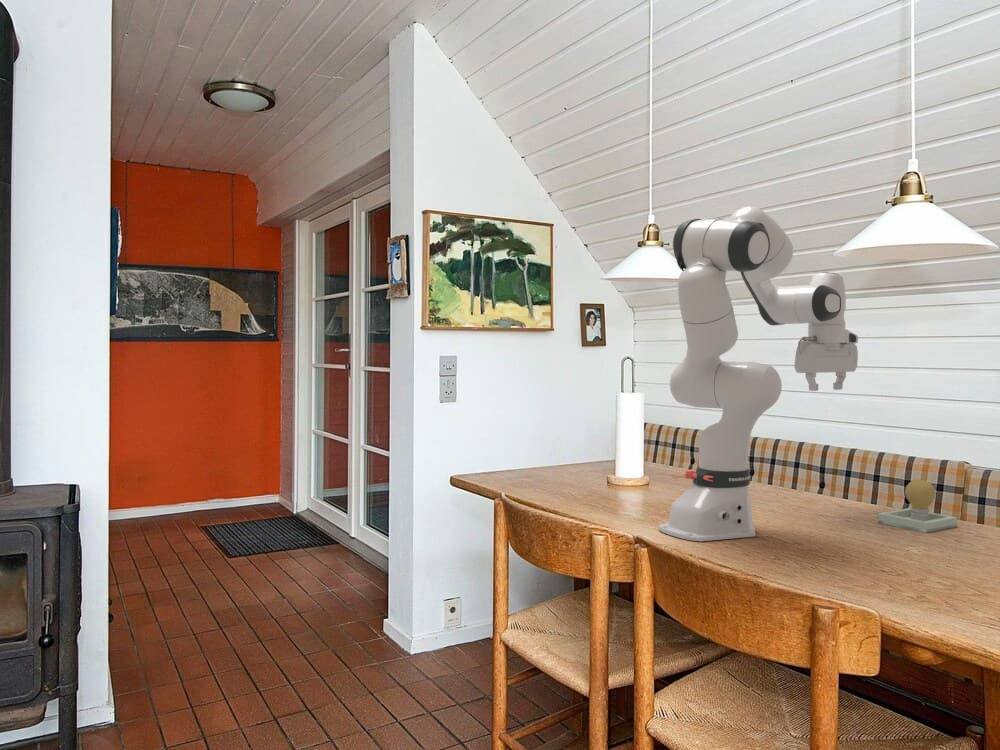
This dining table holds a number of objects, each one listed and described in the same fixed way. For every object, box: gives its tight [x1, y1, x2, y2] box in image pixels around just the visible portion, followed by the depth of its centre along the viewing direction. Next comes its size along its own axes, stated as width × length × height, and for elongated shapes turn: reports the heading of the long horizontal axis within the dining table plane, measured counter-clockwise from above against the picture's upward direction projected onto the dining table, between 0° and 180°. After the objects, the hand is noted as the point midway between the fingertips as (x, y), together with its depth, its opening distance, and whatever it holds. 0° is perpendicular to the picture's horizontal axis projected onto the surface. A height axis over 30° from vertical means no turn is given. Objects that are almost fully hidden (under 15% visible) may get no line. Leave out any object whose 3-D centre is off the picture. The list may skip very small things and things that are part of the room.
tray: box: [877, 507, 958, 534], centre depth 184 cm, size 12×12×2 cm
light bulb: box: [904, 479, 936, 521], centre depth 185 cm, size 6×6×10 cm
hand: (825, 390), depth 200 cm, fingers open, 8 cm apart
